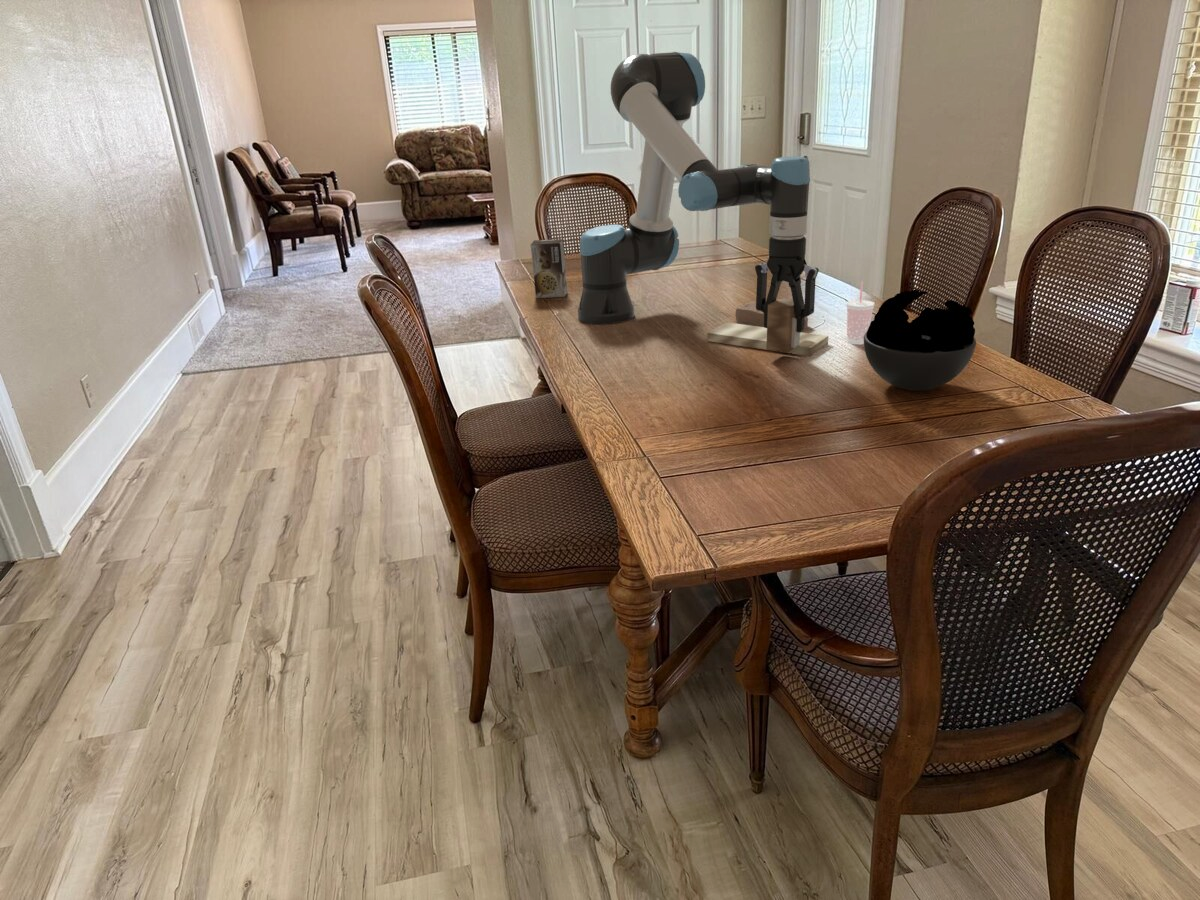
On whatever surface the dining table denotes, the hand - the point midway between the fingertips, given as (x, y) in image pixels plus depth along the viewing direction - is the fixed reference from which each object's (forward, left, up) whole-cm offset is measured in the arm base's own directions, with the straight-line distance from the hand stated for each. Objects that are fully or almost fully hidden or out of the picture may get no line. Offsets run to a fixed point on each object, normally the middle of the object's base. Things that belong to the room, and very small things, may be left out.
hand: (783, 344), depth 176 cm
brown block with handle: (0, +3, -1) cm, 4 cm away
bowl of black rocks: (+30, -6, -3) cm, 31 cm away
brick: (-13, +23, -4) cm, 27 cm away
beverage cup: (+10, +18, -3) cm, 21 cm away
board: (-8, +8, -3) cm, 12 cm away
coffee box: (-86, +24, -3) cm, 89 cm away
